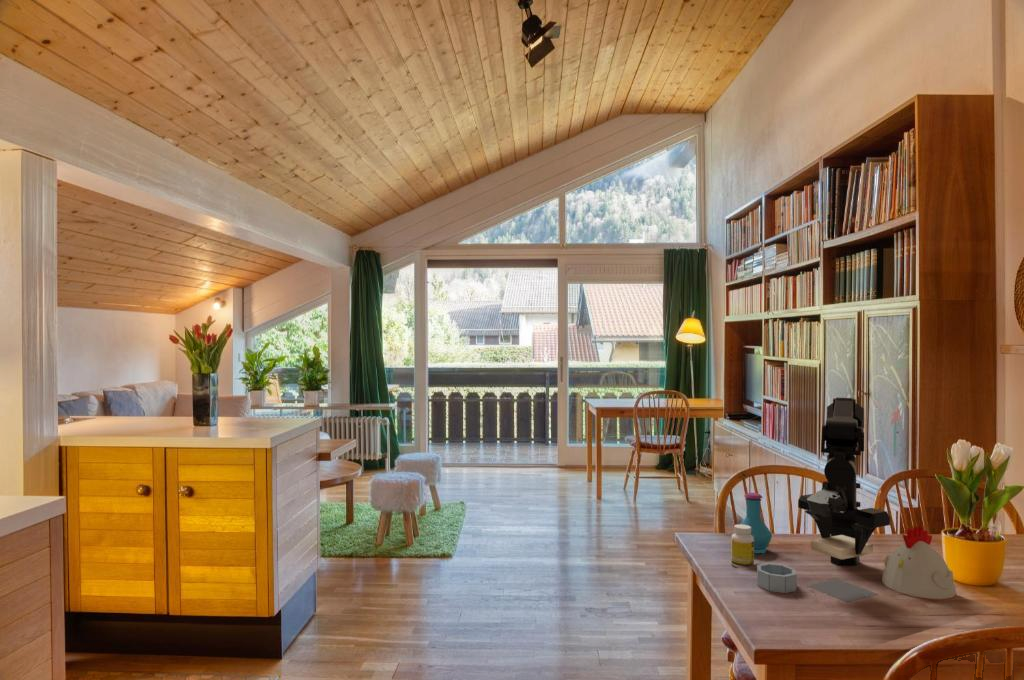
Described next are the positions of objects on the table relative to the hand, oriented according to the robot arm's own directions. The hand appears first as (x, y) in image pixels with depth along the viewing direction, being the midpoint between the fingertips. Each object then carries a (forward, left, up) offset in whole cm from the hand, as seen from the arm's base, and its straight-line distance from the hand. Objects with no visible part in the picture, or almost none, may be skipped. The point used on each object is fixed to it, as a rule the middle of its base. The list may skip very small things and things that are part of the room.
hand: (841, 549), depth 139 cm
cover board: (0, 0, 0) cm, 0 cm away
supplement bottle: (+5, -24, -11) cm, 27 cm away
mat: (0, 0, -10) cm, 11 cm away
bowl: (+11, -8, -10) cm, 17 cm away
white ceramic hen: (-17, +6, -11) cm, 21 cm away
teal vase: (-7, -32, -11) cm, 35 cm away
